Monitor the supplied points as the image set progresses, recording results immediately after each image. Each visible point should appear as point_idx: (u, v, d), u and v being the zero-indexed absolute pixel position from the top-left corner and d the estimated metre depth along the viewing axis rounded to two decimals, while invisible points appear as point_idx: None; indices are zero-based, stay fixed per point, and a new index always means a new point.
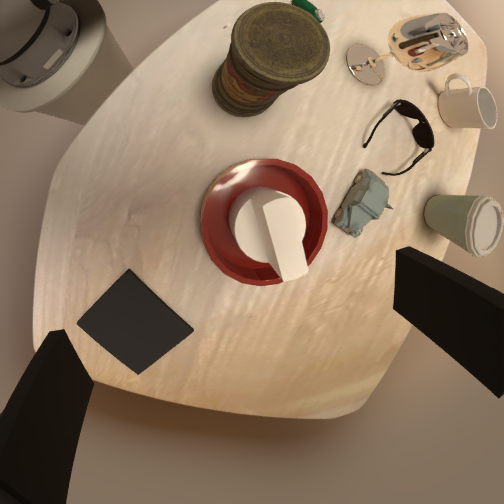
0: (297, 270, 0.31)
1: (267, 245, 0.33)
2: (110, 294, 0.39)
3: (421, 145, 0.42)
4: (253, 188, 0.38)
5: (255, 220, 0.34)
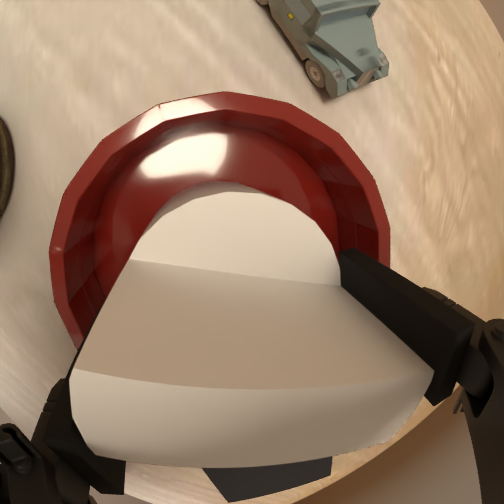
0: (400, 407, 0.06)
1: None
2: (216, 478, 0.24)
3: None
4: None
5: None
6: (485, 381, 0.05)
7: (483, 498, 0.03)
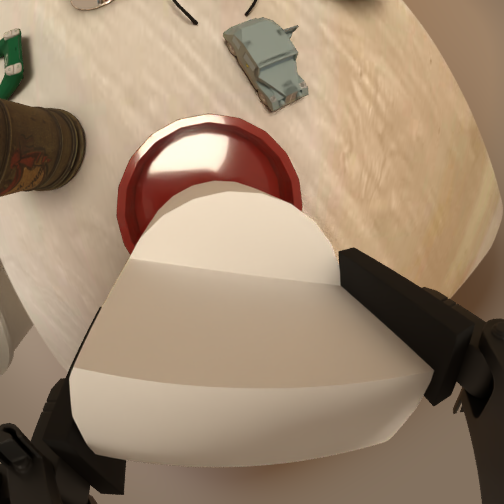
0: (400, 406, 0.06)
1: None
2: None
3: None
4: None
5: None
6: (485, 381, 0.05)
7: (483, 498, 0.03)
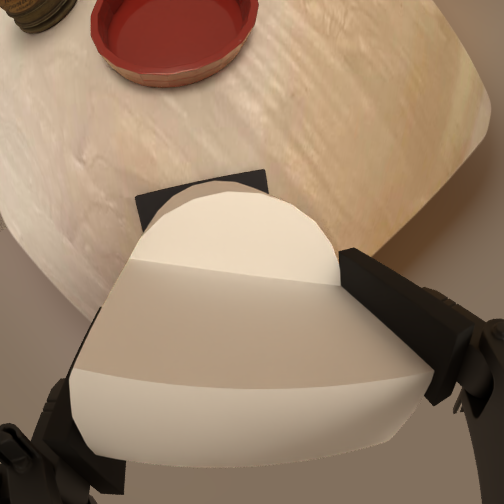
0: (400, 406, 0.06)
1: None
2: None
3: None
4: None
5: None
6: (485, 381, 0.05)
7: (483, 498, 0.03)
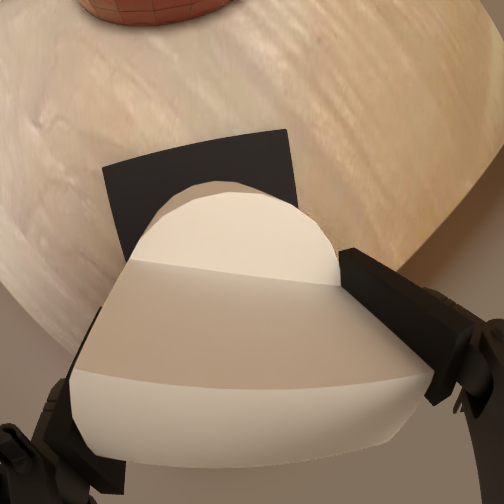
0: (400, 407, 0.06)
1: None
2: (125, 231, 0.20)
3: None
4: None
5: None
6: (485, 381, 0.05)
7: (483, 498, 0.03)
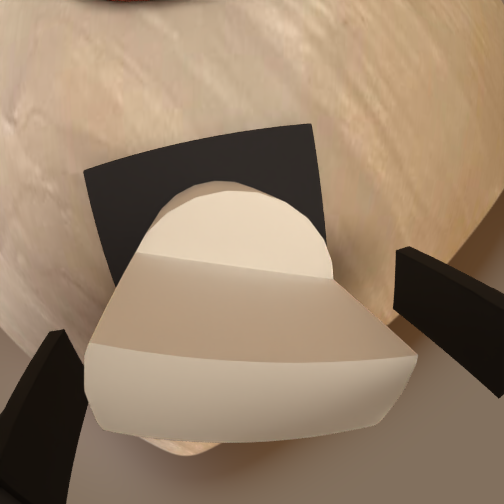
0: (386, 389, 0.07)
1: None
2: (113, 249, 0.16)
3: None
4: None
5: None
6: None
7: None
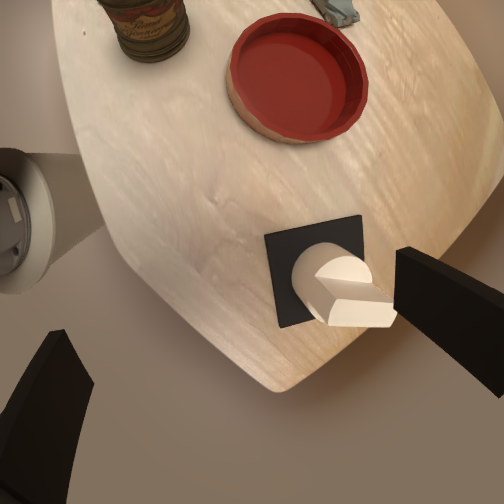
0: (391, 313, 0.29)
1: None
2: (276, 272, 0.38)
3: None
4: (295, 272, 0.37)
5: None
6: None
7: None
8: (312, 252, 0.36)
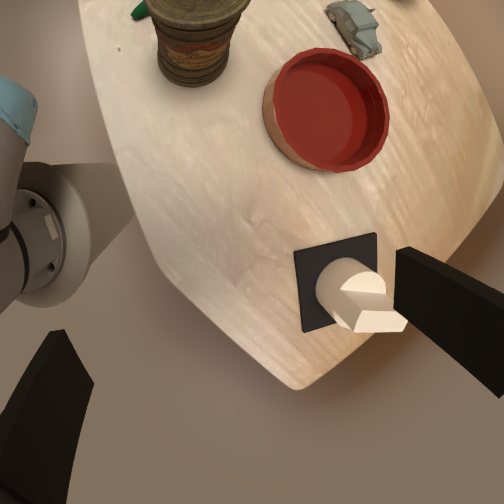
0: (403, 320, 0.33)
1: None
2: (303, 284, 0.42)
3: None
4: (320, 284, 0.42)
5: None
6: None
7: None
8: (335, 267, 0.41)
